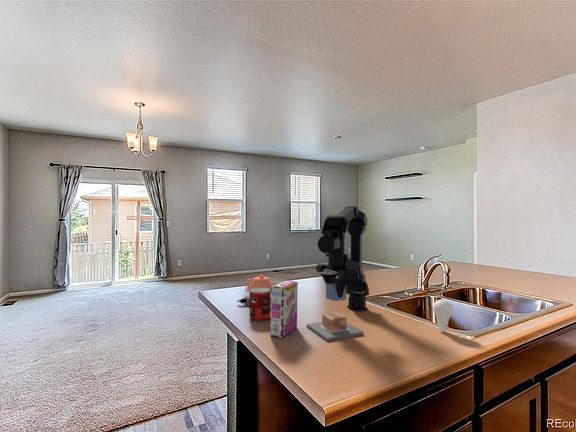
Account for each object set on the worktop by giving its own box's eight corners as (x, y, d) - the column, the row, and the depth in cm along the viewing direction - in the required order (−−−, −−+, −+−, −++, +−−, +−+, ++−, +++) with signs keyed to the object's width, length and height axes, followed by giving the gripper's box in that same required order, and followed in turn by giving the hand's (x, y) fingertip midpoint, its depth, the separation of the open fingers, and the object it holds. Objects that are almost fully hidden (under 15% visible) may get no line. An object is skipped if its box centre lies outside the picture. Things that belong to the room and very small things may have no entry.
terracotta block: (337, 323, 111) (337, 312, 111) (346, 329, 105) (346, 317, 105) (322, 325, 108) (322, 314, 108) (331, 331, 103) (331, 319, 103)
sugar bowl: (272, 298, 149) (272, 277, 149) (243, 298, 149) (243, 277, 149) (274, 292, 161) (274, 272, 161) (247, 292, 161) (247, 272, 161)
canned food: (249, 315, 124) (249, 287, 124) (270, 314, 124) (270, 287, 124) (249, 321, 116) (249, 292, 116) (270, 321, 117) (270, 291, 117)
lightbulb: (445, 336, 101) (445, 303, 101) (428, 330, 107) (428, 298, 107) (457, 333, 104) (457, 300, 104) (440, 327, 110) (440, 296, 110)
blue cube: (338, 296, 112) (338, 282, 112) (346, 299, 107) (346, 285, 107) (326, 297, 110) (326, 283, 110) (333, 301, 105) (333, 286, 105)
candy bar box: (283, 339, 100) (283, 287, 100) (269, 336, 102) (269, 286, 102) (298, 327, 110) (298, 281, 110) (285, 325, 112) (285, 279, 112)
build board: (340, 321, 116) (340, 318, 116) (363, 334, 103) (363, 331, 103) (306, 327, 110) (306, 323, 110) (327, 341, 98) (327, 338, 98)
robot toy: (235, 307, 137) (261, 311, 128) (234, 297, 137) (261, 300, 129) (253, 301, 147) (279, 304, 138) (253, 291, 147) (278, 294, 139)
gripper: (372, 252, 103) (372, 300, 103) (340, 248, 120) (340, 288, 120) (344, 253, 99) (343, 303, 99) (315, 248, 116) (315, 291, 116)
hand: (335, 295), depth 108 cm, fingers closed on blue cube, 5 cm apart
